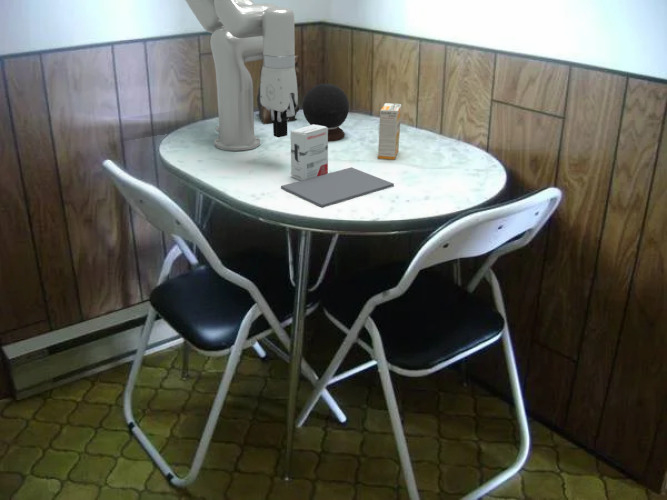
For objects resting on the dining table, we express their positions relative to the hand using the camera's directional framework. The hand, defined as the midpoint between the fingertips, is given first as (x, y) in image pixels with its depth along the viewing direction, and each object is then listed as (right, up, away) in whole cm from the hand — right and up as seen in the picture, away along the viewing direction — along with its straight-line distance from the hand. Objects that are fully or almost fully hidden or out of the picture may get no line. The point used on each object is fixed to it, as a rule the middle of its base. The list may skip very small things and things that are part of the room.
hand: (280, 135), depth 175 cm
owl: (-5, +12, +42) cm, 44 cm away
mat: (+14, -14, -12) cm, 24 cm away
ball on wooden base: (+11, +4, +26) cm, 29 cm away
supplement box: (+28, -3, +11) cm, 30 cm away
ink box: (+8, -11, -5) cm, 14 cm away
